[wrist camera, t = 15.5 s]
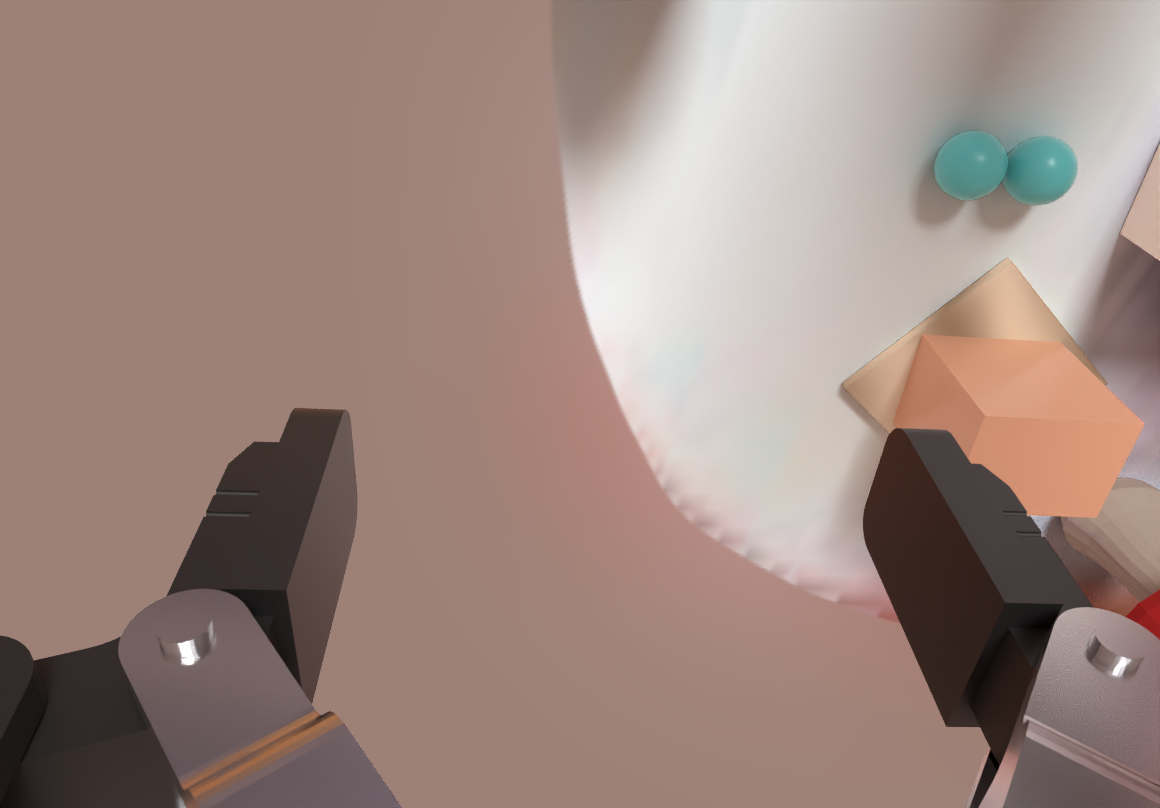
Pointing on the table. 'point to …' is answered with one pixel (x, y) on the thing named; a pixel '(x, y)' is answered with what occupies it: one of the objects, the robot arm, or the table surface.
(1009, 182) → the teal marble
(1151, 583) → the decorative mushroom
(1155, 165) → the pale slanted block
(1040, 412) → the peach rectangular brick
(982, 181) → the teal marble
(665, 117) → the table surface
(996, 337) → the birch coaster
